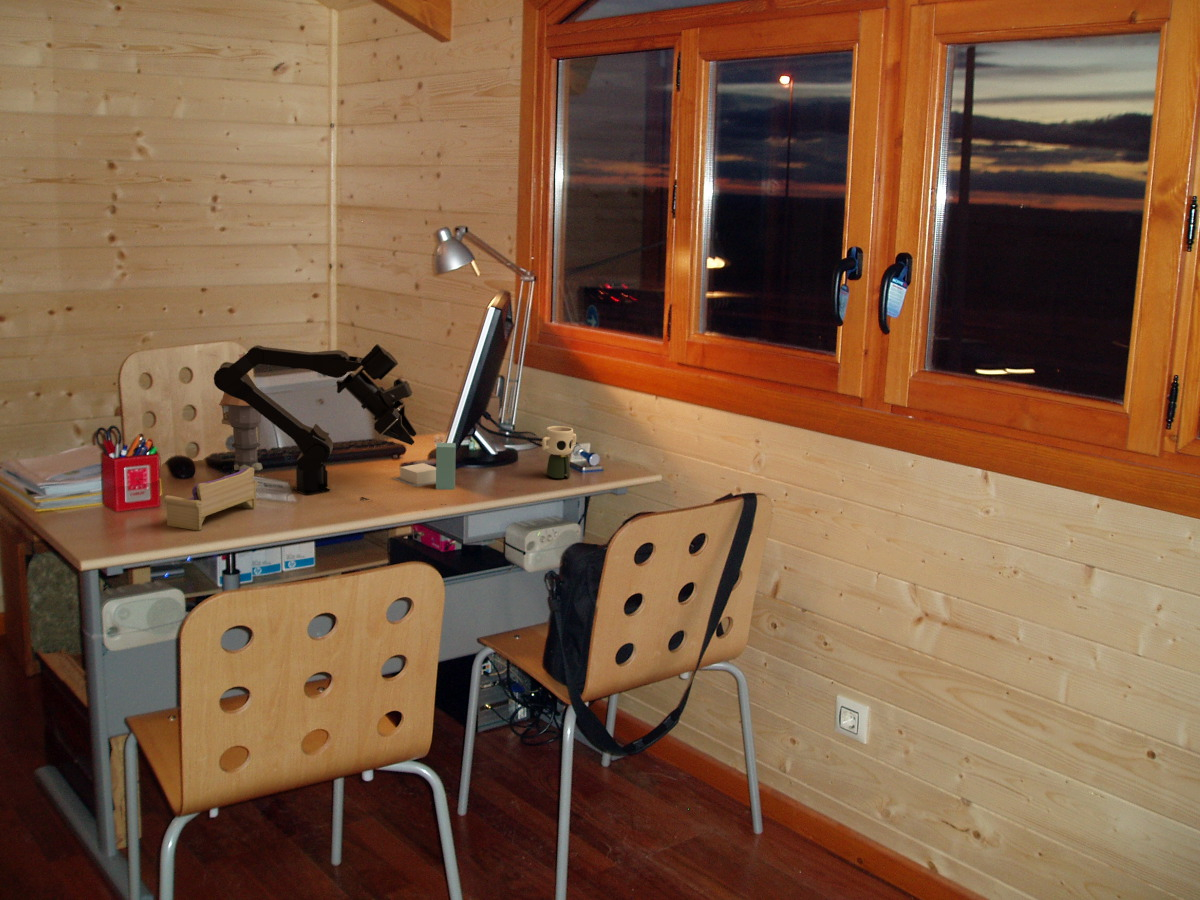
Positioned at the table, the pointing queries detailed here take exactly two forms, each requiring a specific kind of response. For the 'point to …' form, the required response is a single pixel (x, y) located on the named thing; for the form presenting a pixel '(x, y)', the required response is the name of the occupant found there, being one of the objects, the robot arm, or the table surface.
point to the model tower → (242, 430)
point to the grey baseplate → (413, 483)
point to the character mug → (558, 450)
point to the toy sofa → (212, 499)
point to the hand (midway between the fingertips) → (414, 439)
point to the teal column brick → (445, 465)
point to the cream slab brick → (418, 473)
